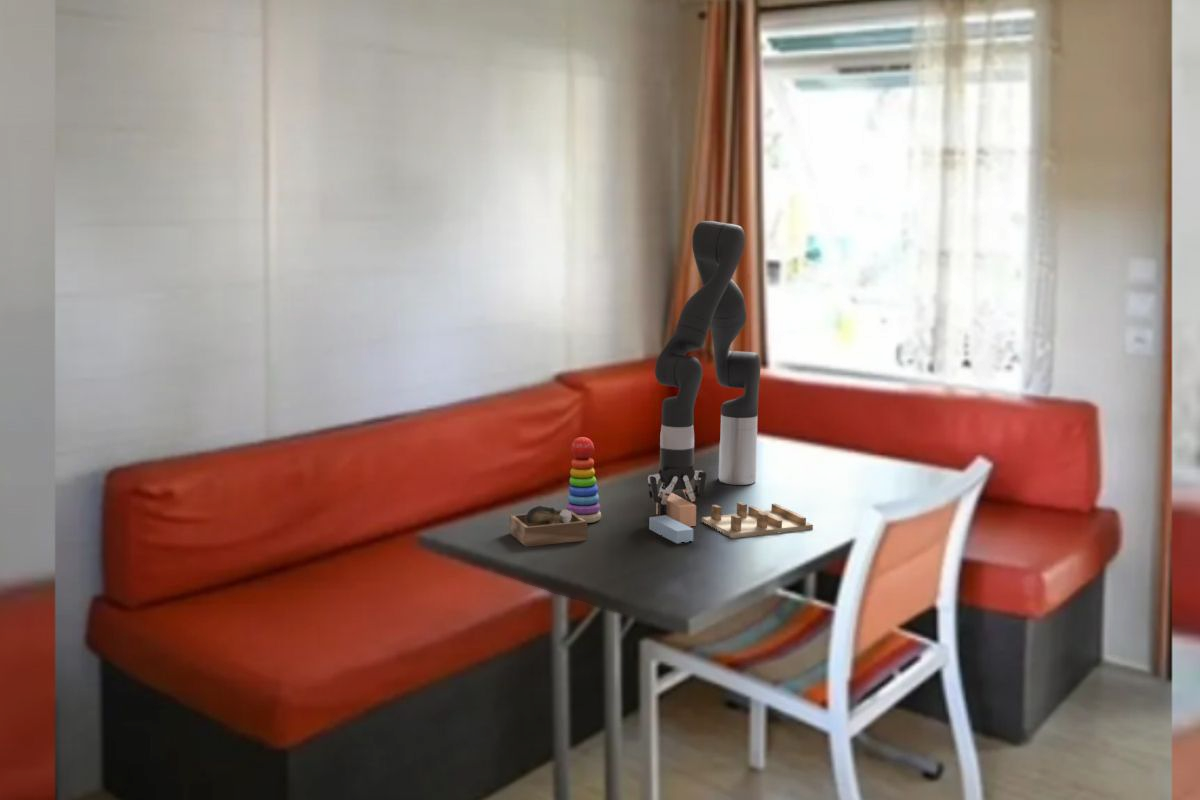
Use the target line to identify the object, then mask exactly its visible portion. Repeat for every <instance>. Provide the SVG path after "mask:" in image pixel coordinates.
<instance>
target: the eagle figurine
mask: <svg viewBox="0 0 1200 800" xmlns="http://www.w3.org/2000/svg"><path fill="white" fill-rule="evenodd" d="M561 510H562V511H561V512H560V514H559V515H557V511H558V510H556V509H555V508H554V507H547V506H543V505H537V506H535V507H533V508H531V509H529V511H528V512H527V513H526V514H527V516H526V517H525V519H526V520H527V522H528V523H546V524H545V525H549V524H559V523H569V522H570V520H571V518H572V514H571V512H570V511H568V510H567V508H566V509H561Z"/></svg>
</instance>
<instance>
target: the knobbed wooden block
mask: <svg viewBox="0 0 1200 800" xmlns="http://www.w3.org/2000/svg"><path fill="white" fill-rule="evenodd" d="M666 489H667V488H666ZM655 504H656V507H655V510H656V513H655V514H657V512H658V504H657V503H655ZM665 504H666V505H667V516H668V517H670V518H672V519H674V520H676V521H678V522H680V523H682V524H684V525H686V526H688V527H690V528H692V527H691V526H697V505H696V504H695V503H694V504H693V503H691V502H689V501H687V499H685V498H684V497H681V496H679V495H677V494H676V493H673V492H671V495H670V496H668V499H667V501H666V503H665Z"/></svg>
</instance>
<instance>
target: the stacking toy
mask: <svg viewBox="0 0 1200 800" xmlns="http://www.w3.org/2000/svg"><path fill="white" fill-rule="evenodd" d="M570 448H571V449H570V450H571V453H572V455H573V456H574V458H573V459H572V460H571V466H572V468H571V469H570V472H569V473H570V478H569V481H568V482H569V484H570V485H569V487H568V492H569V494H568V496H567V501H568V502H567V504H566V510H571V511H572V512H574V513H575V514H577V515H578V516H580V517H581V518H583V519H584V520H585V521H587V524H590V523H591V524H592V523H595V522H598V521H599V520H600V519H601V518H602V513H601V511H600V509H601V505H600V503H599V500H600V496H599V494H598V492H599V487H598V485H597V477H596V476H595V474H596V470H595V469H594V466H595V461H594V459H593V458H591V456H592V455H593V454H594V451H595V446H594V443H593V441H592V440H591V439H590V438H588V437H585V436H580V437H577V438H575V439H574V440H573V441H572V443H571V446H570Z"/></svg>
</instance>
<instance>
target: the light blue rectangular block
mask: <svg viewBox="0 0 1200 800" xmlns="http://www.w3.org/2000/svg"><path fill="white" fill-rule="evenodd" d="M648 524H649V526H648V529H649V530H650V531H652V532H653V533H656V534H657V535H660V536H661V535H662V536H661V537H663V538H665V539H667V540H669V541H671V542H673V543H675V544H682V543H681V542H685V543H689V541H692V542H694V528H693V527H688V526H686V525H684V524H682V523H680V522H678V521H676V520H674V519H672V518H670V517H668V516H666V515H663V516H657V515H656V516H649V523H648Z"/></svg>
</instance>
